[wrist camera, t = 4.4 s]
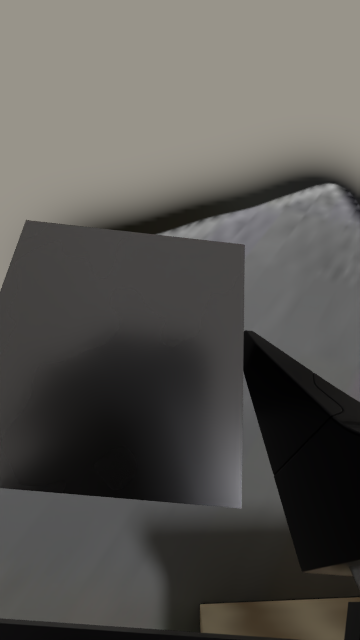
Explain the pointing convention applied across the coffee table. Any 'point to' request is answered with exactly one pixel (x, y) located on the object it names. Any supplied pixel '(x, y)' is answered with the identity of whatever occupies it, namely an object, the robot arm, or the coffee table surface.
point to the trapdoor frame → (278, 618)
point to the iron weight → (122, 366)
